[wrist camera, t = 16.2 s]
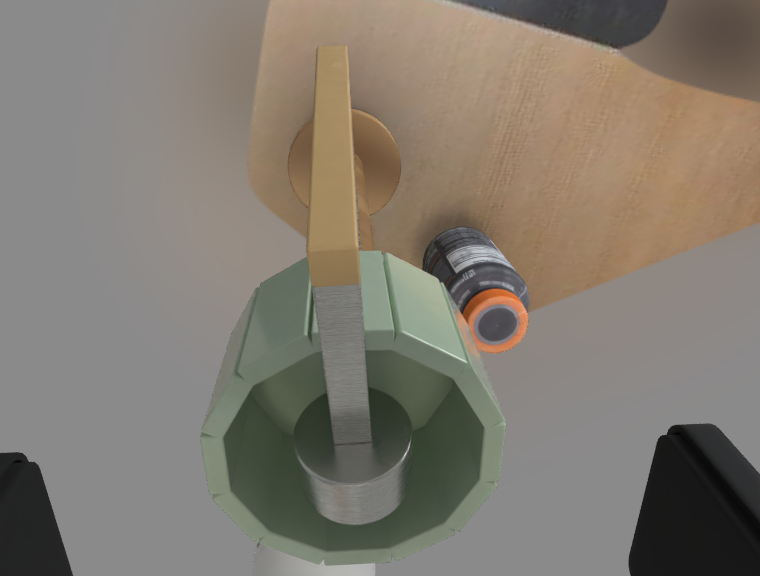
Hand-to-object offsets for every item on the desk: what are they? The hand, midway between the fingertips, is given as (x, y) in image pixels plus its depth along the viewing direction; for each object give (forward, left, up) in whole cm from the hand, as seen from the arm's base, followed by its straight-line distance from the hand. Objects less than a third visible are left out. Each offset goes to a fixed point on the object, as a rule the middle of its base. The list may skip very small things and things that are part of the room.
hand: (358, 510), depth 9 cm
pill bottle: (-12, -9, -37) cm, 40 cm away
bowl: (-4, 0, -11) cm, 11 cm away
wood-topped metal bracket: (-4, 0, -11) cm, 12 cm away
